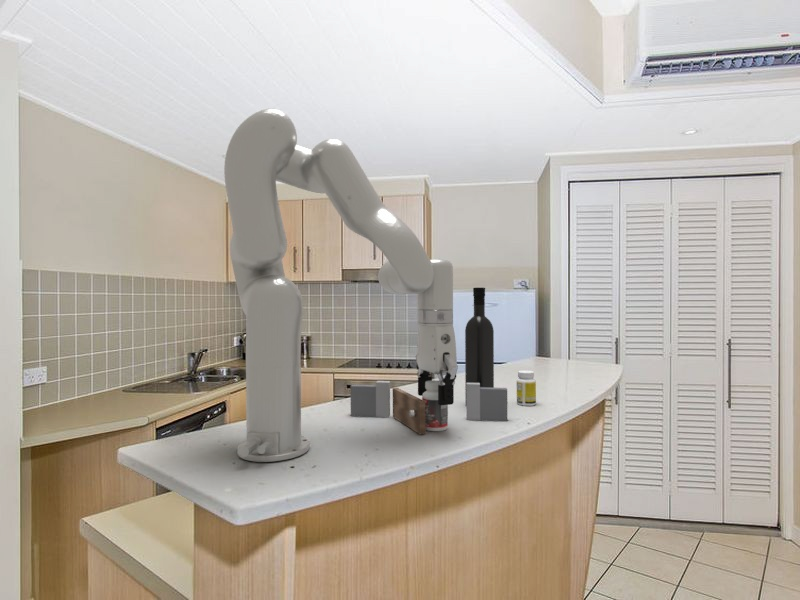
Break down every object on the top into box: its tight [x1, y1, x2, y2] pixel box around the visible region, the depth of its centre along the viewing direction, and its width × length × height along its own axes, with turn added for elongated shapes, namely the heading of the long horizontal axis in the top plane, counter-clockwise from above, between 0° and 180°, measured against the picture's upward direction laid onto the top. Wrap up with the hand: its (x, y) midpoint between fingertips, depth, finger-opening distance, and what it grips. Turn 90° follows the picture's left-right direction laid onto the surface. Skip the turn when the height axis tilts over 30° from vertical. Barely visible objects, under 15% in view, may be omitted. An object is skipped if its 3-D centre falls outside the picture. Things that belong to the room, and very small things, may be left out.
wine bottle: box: [464, 287, 495, 400], centre depth 114 cm, size 6×6×30 cm
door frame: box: [350, 380, 508, 422], centre depth 104 cm, size 2×36×8 cm, turn 82°
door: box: [392, 387, 426, 435], centre depth 97 cm, size 15×2×6 cm, turn 22°
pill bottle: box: [421, 379, 449, 432], centre depth 95 cm, size 5×5×10 cm
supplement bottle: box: [516, 369, 537, 407], centre depth 117 cm, size 5×5×8 cm
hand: (434, 399), depth 95 cm, fingers open, 9 cm apart
